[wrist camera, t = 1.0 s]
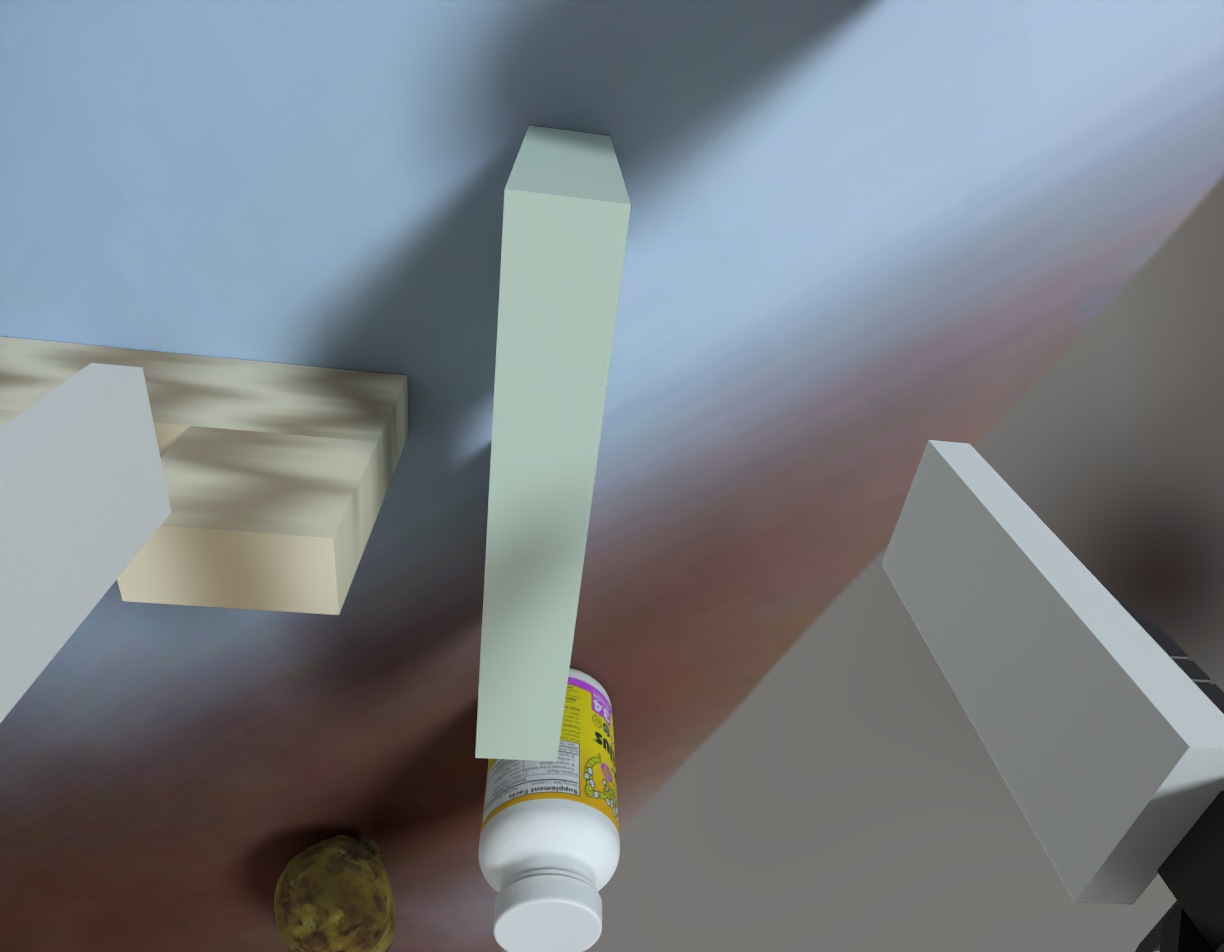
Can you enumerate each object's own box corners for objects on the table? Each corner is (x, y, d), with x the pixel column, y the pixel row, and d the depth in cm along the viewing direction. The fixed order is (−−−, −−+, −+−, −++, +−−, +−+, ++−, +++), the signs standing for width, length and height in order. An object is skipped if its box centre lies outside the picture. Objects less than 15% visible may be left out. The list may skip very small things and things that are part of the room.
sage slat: (529, 125, 28) (504, 189, 18) (609, 135, 29) (630, 204, 18) (501, 558, 38) (475, 758, 28) (561, 563, 39) (556, 761, 28)
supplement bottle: (608, 742, 46) (620, 972, 35) (496, 742, 45) (472, 976, 34) (614, 659, 42) (629, 886, 31) (493, 659, 42) (465, 889, 31)
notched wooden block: (-21, 399, 33) (-292, 574, 23) (-43, 332, 31) (-344, 488, 21) (408, 436, 35) (339, 615, 24) (407, 375, 33) (333, 538, 23)
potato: (258, 889, 52) (210, 1022, 45) (321, 777, 46) (277, 910, 39) (376, 918, 54) (348, 1049, 47) (449, 815, 49) (429, 946, 42)
